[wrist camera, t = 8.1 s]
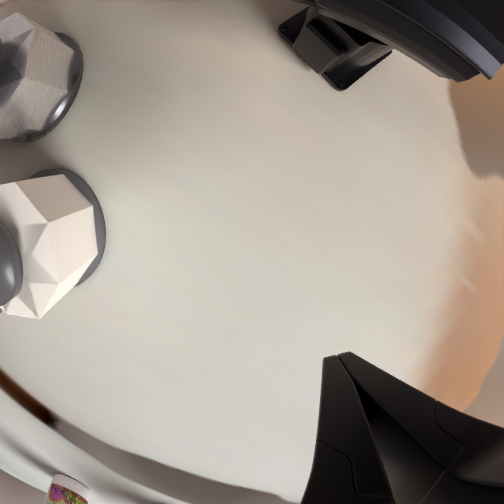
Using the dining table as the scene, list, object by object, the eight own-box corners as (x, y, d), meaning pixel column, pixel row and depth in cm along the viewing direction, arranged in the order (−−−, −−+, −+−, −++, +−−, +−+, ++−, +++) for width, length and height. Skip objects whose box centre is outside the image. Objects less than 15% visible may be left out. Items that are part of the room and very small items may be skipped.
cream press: (51, 144, 17) (-4, 144, 11) (129, 226, 19) (88, 254, 13) (-3, 248, 19) (-47, 272, 12) (61, 319, 21) (25, 360, 15)
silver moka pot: (50, 20, 13) (9, -5, 7) (104, 67, 15) (61, 38, 9) (-21, 124, 15) (-68, 125, 9) (21, 184, 17) (-32, 197, 11)
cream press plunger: (34, 188, 15) (-24, 202, 10) (77, 235, 17) (24, 267, 11) (9, 238, 16) (-42, 264, 10) (48, 282, 17) (1, 321, 12)
